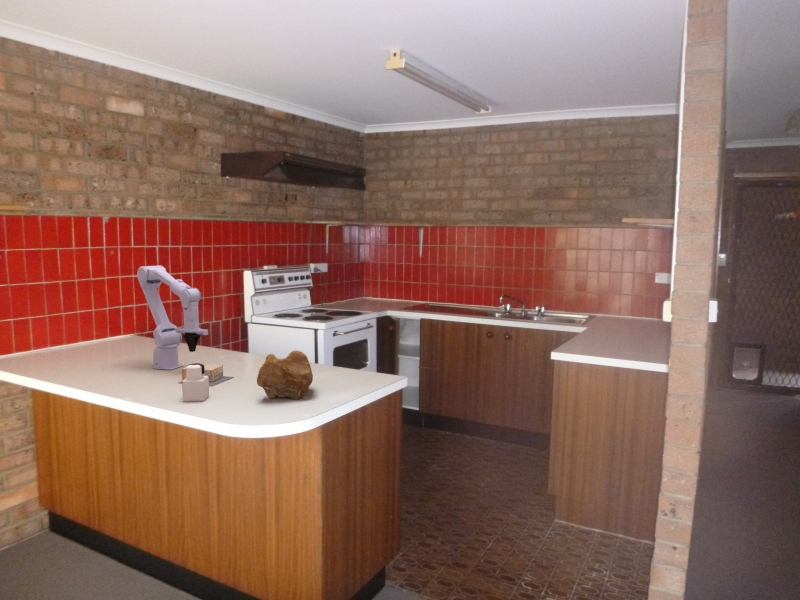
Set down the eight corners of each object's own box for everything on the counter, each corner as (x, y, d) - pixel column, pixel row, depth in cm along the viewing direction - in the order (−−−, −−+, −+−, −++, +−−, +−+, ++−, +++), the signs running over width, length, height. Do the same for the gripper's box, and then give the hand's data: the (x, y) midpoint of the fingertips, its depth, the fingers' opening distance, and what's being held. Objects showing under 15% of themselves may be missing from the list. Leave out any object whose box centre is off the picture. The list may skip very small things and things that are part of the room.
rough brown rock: (288, 409, 191) (291, 365, 189) (249, 398, 199) (252, 355, 197) (328, 394, 212) (331, 354, 210) (291, 385, 219) (294, 346, 217)
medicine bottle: (188, 395, 204) (187, 362, 203) (209, 395, 205) (208, 361, 203) (182, 401, 197) (181, 366, 196) (204, 401, 198) (203, 366, 196)
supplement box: (181, 380, 224) (213, 382, 222) (181, 368, 224) (212, 369, 221) (193, 375, 232) (223, 376, 230) (193, 363, 232) (223, 364, 229)
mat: (178, 383, 221) (178, 382, 221) (201, 374, 234) (201, 374, 234) (211, 386, 217) (212, 385, 217) (233, 377, 230) (233, 377, 230)
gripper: (212, 317, 238) (213, 350, 239) (183, 316, 242) (184, 348, 244) (201, 320, 231) (202, 354, 233) (171, 318, 236) (172, 351, 237)
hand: (192, 351), depth 238 cm, fingers closed
